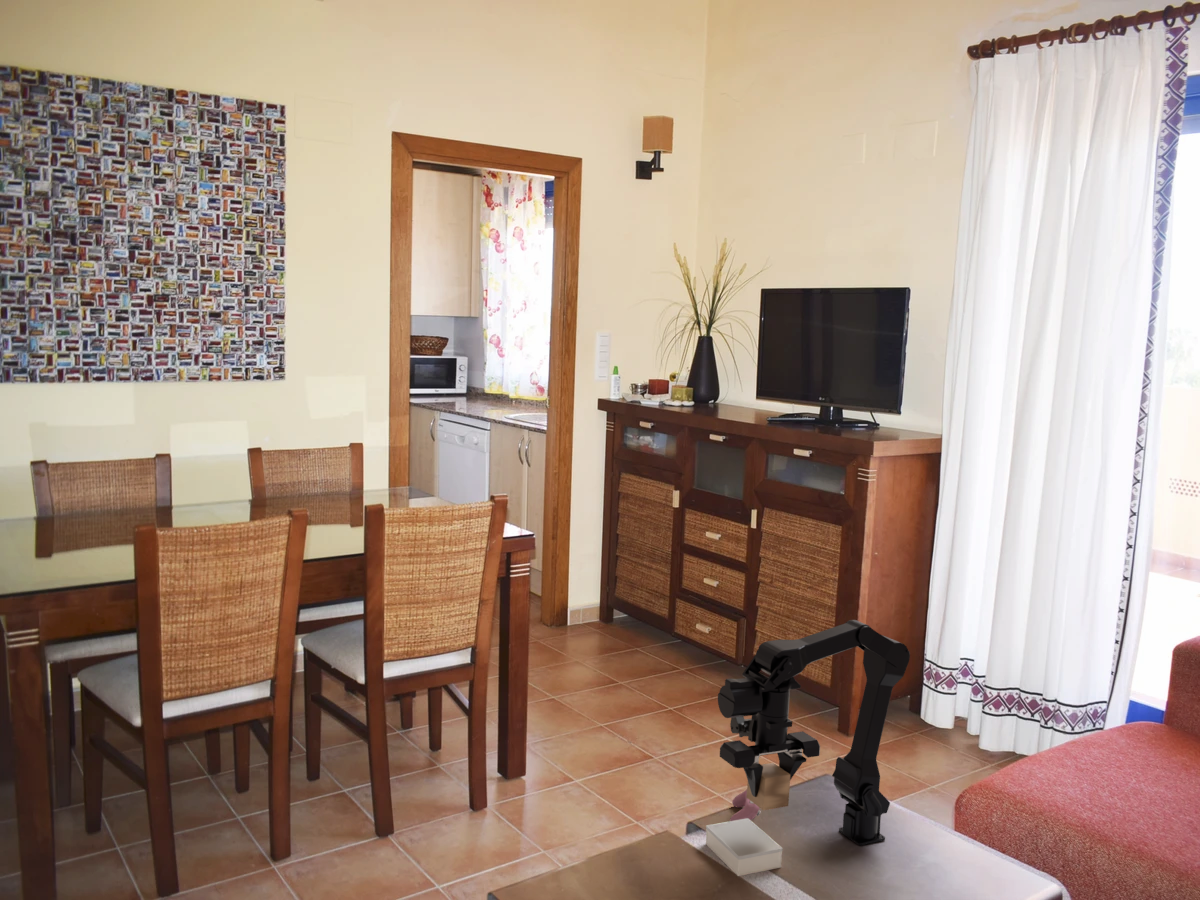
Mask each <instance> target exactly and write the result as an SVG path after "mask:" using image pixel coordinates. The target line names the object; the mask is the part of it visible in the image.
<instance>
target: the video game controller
mask: <svg viewBox="0 0 1200 900" xmlns="http://www.w3.org/2000/svg"><path fill="white" fill-rule="evenodd" d="M732 806H733V807H734V808H741V809H740V810H739V811H737V812H736V813H734V814H732V816H730V819H729V821H735V820H740V819H746V818H748V819H750V820H751V821H752V820H754V819H755V818H756V816H757V817H759V816H760V815H761V812H762V811H761V810H760V808H759V807H758V806H757V805H756V804H754V803H753V802H752V801H750V800H749V799H748V798H747V788H746V789H745V790H743V791H742V792H741V793H739V794H738V795H736V796H735V797H734V798H733V799H732ZM736 806H737V807H736Z"/></svg>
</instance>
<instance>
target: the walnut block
mask: <svg viewBox="0 0 1200 900" xmlns="http://www.w3.org/2000/svg"><path fill="white" fill-rule="evenodd" d="M761 765H762V766H763V771H762V776H761V781H760V787H759V791H758V794H757V797H754V796H753V795H752V793H751V790H750V786H749V783H748V782H747V787H746V789H747V798H748V799H749V800H750V801H752V802H753V803H754V804H756V805H757V806H758V807H759V809H761V810H762V811H769V810H773V809H779V808H780V809H781V808H785V807H789V803H790V802H789V801H790V788H791V780H790V774H789V773H787V772H786V771H784V770H783V769H782V768H780V767H779V765H777V764H776V763H774V762H770V763H763V764H761Z"/></svg>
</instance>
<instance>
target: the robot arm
mask: <svg viewBox="0 0 1200 900" xmlns="http://www.w3.org/2000/svg"><path fill="white" fill-rule="evenodd" d="M853 648H859V649H861V651H863V659H862V663H863V667H864V668H863V669H864V673H865V677H866V683H865V686H864V690H863V695H862V700H861V704H860V708H859V713H858V717H857V722H856V725H855V730H854V734H853V738H852V743H851V747H850V750H849V752H848V753H847V754H845V756H844V757H841V756H838V757H837V758H836V760H835V768H834V771H833V773H832V775H831V776H832V777H833V785H834V786H835V789H836V790H837V791H838V793H839V796H840V798H841V800H842V799H843V800H844V801H846V802H848V803H845V806H844V808H845V809H844V812H843V815H842V816H843V819H842V820H843V821H842V827H839V828H838V832H840V833H841V834H843V836H845V837H847V838H848V839H849V840H851V841H852V842H853V843H854V844H856V845H857V846H865V845H868V844H874V843H878V842H883V841H885V840H886V836H884V835H883V834H882V833H881V819H882V815H884V814H887V813H888V811H889V808H890V805H891V802H890V800H889V799H887V797H886V796H884V794H882V792H881V791H880V783H881V781H880V780H881V774H880V770H879V766H878V762H877V761H878V760H877V756H878V754H879V753H878V752H879V748H880V744H881V739H882V736H883V735H882V734H883V731H884V726H885V723H886V719H887V715H888V714H887V713H888V710H889V704H890V702H891V696H892V692H893V689H894V686H895V685H896V684H898V682H899V681H900V680H902V678H903V677H904V676H905V673H906V671H907V668H908V665H909V662H910V658H911V652H910V650H909V648H908V647H907V646H906V645H905V644H904V643H902V642H900V641H898V640H895V639H892V638H890V637H888V636H885V635H883V634H880V633H879V632H877V631H876V630H875V629H874V628H872V627H871V626H870V625H868V624H866V623H864V622H862V621H859V620H856V619H849V620H847V621H846V622H845V623H843V624H840V625H836V626H833V627H831V628H828V629H825V630H822V631H819V632H816V633H813V634H810V635H808V636H803V637H802V638H796V639H774V640H766V641H765V642H763V643H761V644H759V645H758V649H757V651H756V653H755V655H754V656H753V658H751V660H750V662H749V664H748V665H747V666H746V668H745V669H744V670H743V672H742V678H726V679H725V680H724V685H722V686H721V687H720V689H719V692H718V693H717V704H718V709H719V712H720V713H721V715H722V717H724V718H726V719H730V723H729V725H730V731H731V733H732V734H738V736H739V738H744V737H747V741H750V742H753V743H754V744H753V745H747V744H746V743H744V742H743V741H742V740H740V739H739V740H732V741H724V742H723V743H721V745H720V747H719V757H720V758H721V759H722V760H723V761H725V762H726V763H727V764H729V765H731V767H733V768H735V769H736V768H737V769H743V771H744V773H745V775H746V778H747V784H748V783H749V786H750V790H751V793H752V795H753V796H754V797H757V794H758V791H759V787H760V781H761V776H762V771H763V766H762V764H761V763H760V762H759V761H760V756H768V755H774V754H777V757H778V761H779V762H778V766H779V767H780V768H782V769H783V770H784V771H786V772H787V773H789V774H790V781H791V780H792V778H793V777H794V775H795V774H796V772H797V771H798V770H799V768H800V767H801V766H802V764H804V763H806V762H807V758H813V757H820V753H821V751H820V750H821V745H820V742H819V741H818V739H816V738H815V737H813V736H812V735H810V734H808V733H807V732H804V730H803V731H795V732H788V729H789V728H790V727H791V728H792V727H793V720H791V719H790V718H789V712H790V697H791V695H790V694H791V690H795V689H796V690H797V689H798V690H799V689H800V688H801V687H802V685H801V684H800V683H799V682H798V681H797V680H796V679H795V677H796V676H798V675H799V674H801V673H802V672H803V671H804V670H805V668H806V667H807V666H808V665H810V664H811V663H815V662H817V661H819V660H823V659H825V658H827V657H830V656H831V657H832V656H833V655H837V654H839V653H842V652H845V651H848V650H851V649H853ZM761 671H762V672H764V673H765V674H767V675H769V676H768V677H767V676H766V675H764V674H762V673H761ZM743 677H744V678H743ZM750 716H751V718H745V717H750Z"/></svg>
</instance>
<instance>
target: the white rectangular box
mask: <svg viewBox="0 0 1200 900" xmlns="http://www.w3.org/2000/svg"><path fill="white" fill-rule="evenodd" d="M705 830H706V834H705V835H706V836H705V844H706V846H707V847H708V848H709V849H710V850H711V851H712V852H713V853H714V854H715V855H716V856H717V857H718V858H719V859H720V860H721V861H722V862H723V863H724V864H725V865H726V866H727V867H728V868H729V869H731V871H732V872H733V873H734V874H735V875H736V876H737V877H741V876H746V875H749V874H755V873H760V872H764V871H769V870H774V869H780V868H782V856H783V855H782V853H783V850H784V848H783V847H782V846H781V845H780V844H778V843H777V842H776V841H775V840H774V839H773V838H771V837H770V836H769V834H767V833H766V832H765V831H764V830H762V828H760V827H759V826H758V825H757V824H755V823H754V822H753V821H752V820H750V819H748V818H746V819H740V820H735V821H730V820H729V821H725V822H724V821H723V822H719V823H714V824H713V823H712V824H707V825H705Z"/></svg>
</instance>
